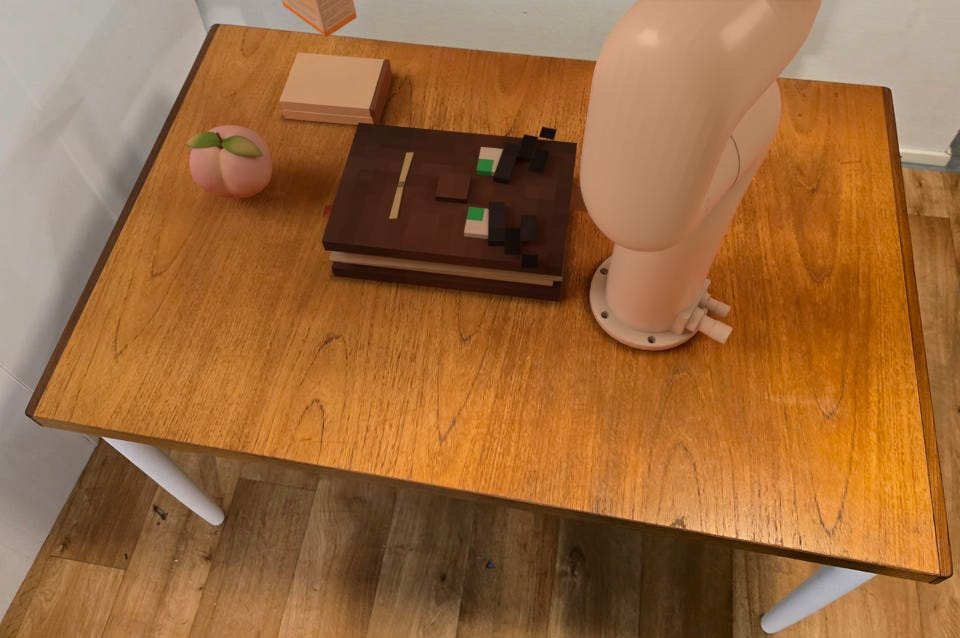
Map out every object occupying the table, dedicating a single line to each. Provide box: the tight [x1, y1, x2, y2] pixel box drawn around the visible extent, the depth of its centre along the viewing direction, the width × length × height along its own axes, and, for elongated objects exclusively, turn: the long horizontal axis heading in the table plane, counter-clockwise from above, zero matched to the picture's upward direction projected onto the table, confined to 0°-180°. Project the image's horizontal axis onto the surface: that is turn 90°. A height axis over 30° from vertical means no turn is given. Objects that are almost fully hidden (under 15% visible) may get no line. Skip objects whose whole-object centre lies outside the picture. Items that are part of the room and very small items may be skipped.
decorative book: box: [321, 123, 589, 303], centre depth 83 cm, size 19×8×30 cm
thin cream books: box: [278, 52, 393, 126], centre depth 96 cm, size 12×9×3 cm
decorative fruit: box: [185, 124, 273, 199], centre depth 86 cm, size 9×8×10 cm
